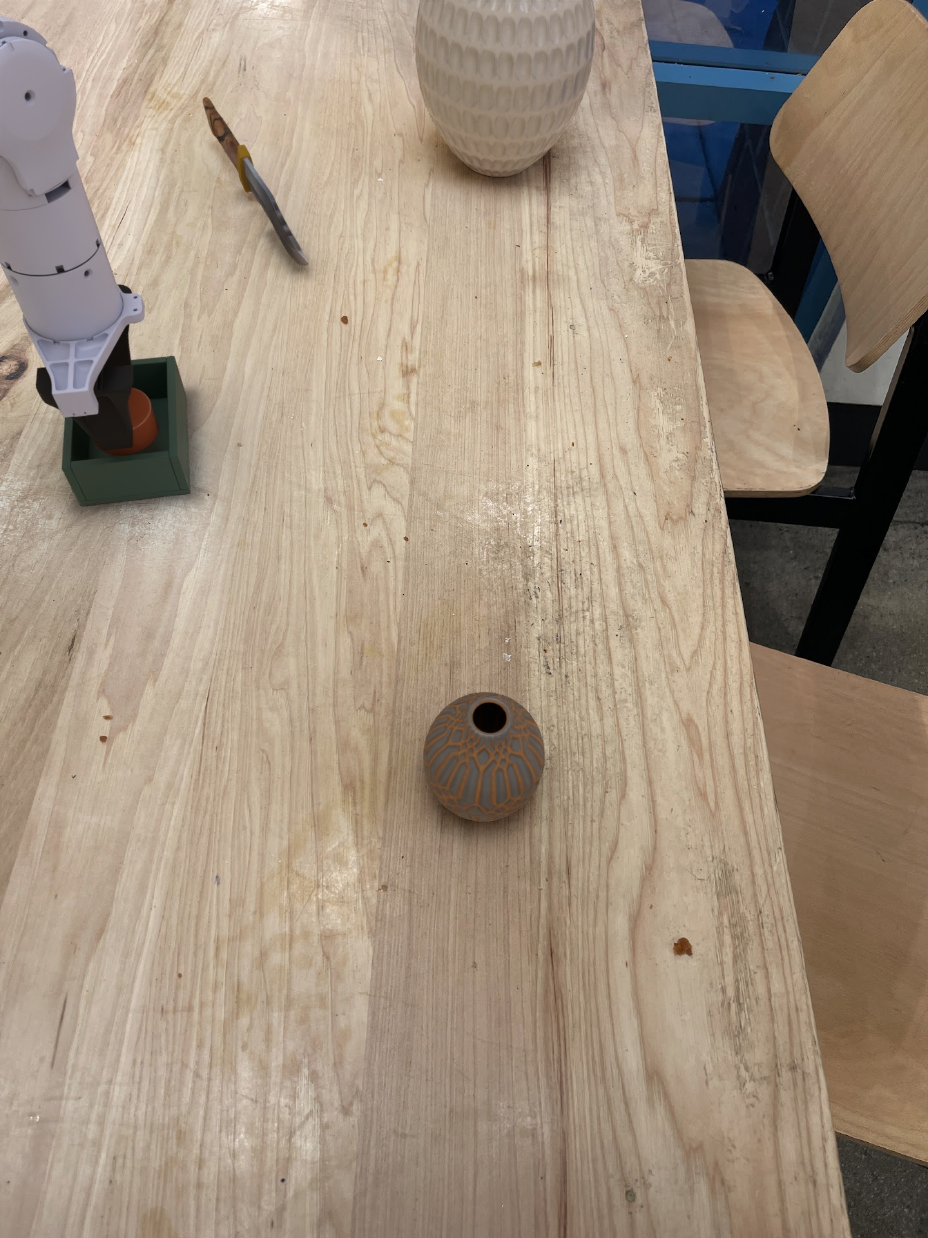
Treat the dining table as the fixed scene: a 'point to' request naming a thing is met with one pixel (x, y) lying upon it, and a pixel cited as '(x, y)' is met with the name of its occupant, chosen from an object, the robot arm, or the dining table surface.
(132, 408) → the cylinder
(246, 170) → the knife
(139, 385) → the tub
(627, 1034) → the dining table surface
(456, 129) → the vase
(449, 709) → the vase
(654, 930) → the dining table surface
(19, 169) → the robot arm
